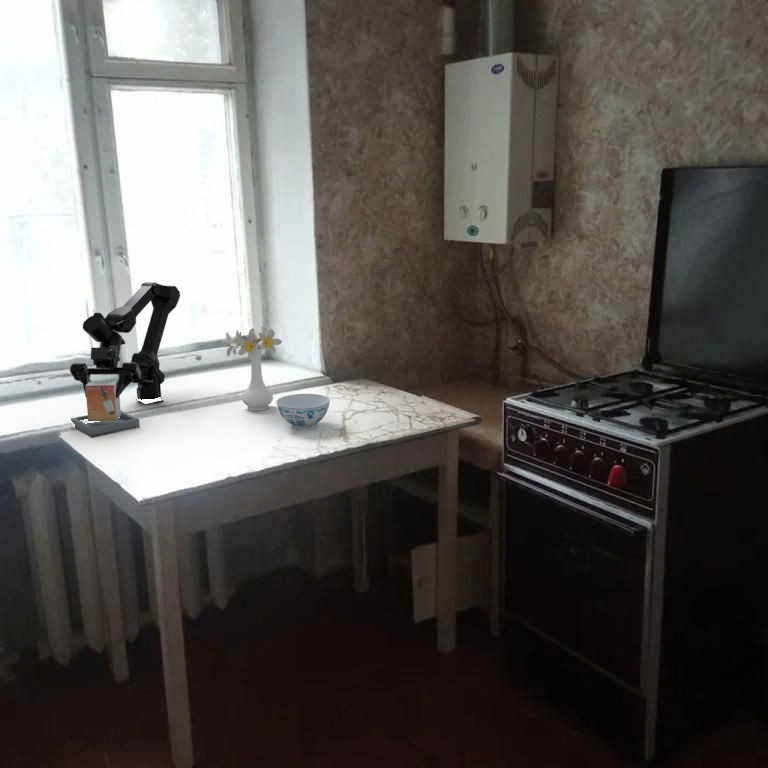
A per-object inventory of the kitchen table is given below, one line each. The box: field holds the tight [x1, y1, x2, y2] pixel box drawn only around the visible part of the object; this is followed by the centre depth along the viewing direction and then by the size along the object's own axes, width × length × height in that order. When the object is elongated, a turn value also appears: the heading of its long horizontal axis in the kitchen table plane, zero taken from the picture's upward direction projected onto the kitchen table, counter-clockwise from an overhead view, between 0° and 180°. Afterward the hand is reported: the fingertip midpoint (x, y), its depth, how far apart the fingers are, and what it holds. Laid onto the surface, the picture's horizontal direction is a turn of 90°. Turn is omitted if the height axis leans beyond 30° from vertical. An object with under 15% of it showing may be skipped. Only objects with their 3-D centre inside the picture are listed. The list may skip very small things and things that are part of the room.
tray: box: [70, 410, 141, 439], centre depth 229 cm, size 14×14×2 cm
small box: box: [85, 379, 122, 421], centre depth 228 cm, size 8×6×10 cm
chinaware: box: [276, 393, 331, 431], centre depth 228 cm, size 15×15×8 cm
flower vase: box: [221, 326, 283, 412], centre depth 244 cm, size 13×18×25 cm
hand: (101, 397), depth 226 cm, fingers closed on small box, 8 cm apart
